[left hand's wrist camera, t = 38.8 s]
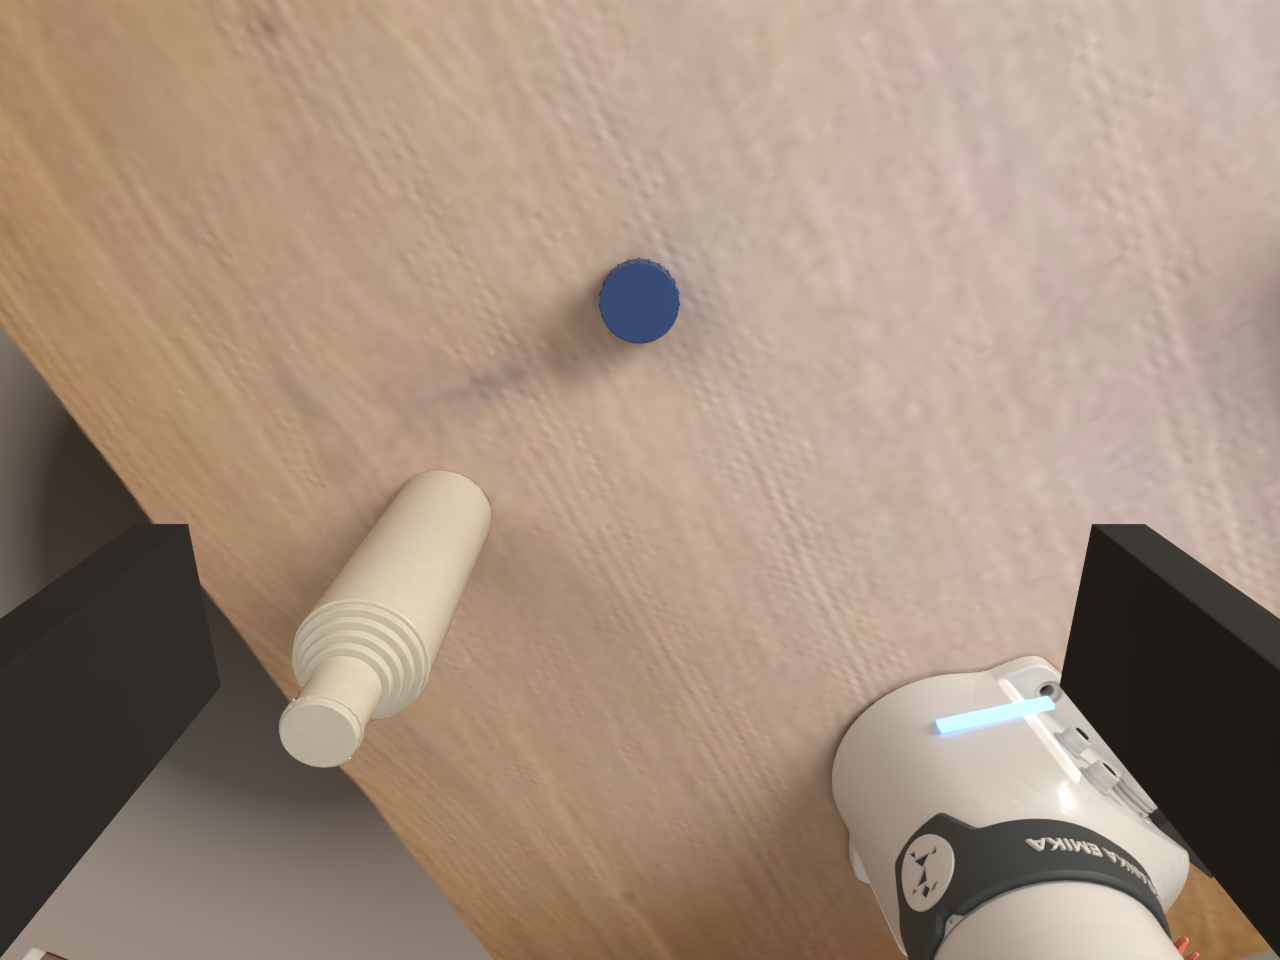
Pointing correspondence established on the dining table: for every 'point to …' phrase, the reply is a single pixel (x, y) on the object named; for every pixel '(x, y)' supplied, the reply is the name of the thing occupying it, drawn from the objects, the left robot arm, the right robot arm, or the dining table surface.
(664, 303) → the cap
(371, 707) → the bottle
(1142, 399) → the dining table surface
